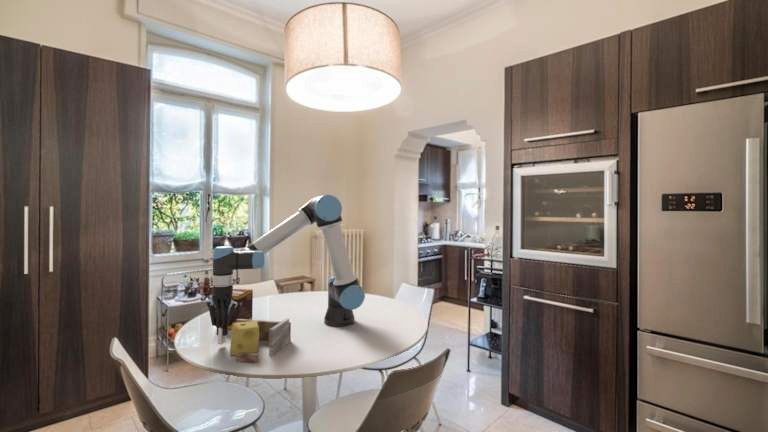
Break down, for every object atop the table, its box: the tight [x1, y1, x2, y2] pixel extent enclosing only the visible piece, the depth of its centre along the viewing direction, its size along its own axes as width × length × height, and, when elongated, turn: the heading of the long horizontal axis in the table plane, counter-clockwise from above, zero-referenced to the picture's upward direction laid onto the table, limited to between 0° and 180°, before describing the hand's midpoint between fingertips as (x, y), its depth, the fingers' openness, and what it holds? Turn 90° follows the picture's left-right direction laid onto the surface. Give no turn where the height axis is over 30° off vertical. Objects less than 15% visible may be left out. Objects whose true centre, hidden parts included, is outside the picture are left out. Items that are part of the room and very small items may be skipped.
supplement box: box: [227, 288, 254, 330], centre depth 174 cm, size 10×15×16 cm
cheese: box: [229, 321, 260, 356], centre depth 141 cm, size 10×11×10 cm
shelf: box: [235, 318, 292, 364], centre depth 142 cm, size 24×24×10 cm
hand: (221, 343), depth 144 cm, fingers closed
